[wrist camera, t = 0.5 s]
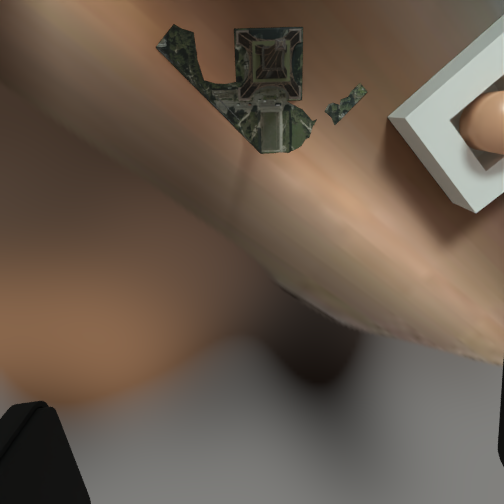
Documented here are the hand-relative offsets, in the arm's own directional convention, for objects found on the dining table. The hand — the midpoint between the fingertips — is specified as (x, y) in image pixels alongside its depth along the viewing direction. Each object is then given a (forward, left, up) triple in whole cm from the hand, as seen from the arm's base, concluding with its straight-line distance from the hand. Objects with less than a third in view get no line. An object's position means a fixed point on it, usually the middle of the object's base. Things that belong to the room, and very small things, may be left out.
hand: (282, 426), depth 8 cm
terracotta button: (-6, +18, -26) cm, 32 cm away
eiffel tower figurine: (-9, 0, -30) cm, 31 cm away
